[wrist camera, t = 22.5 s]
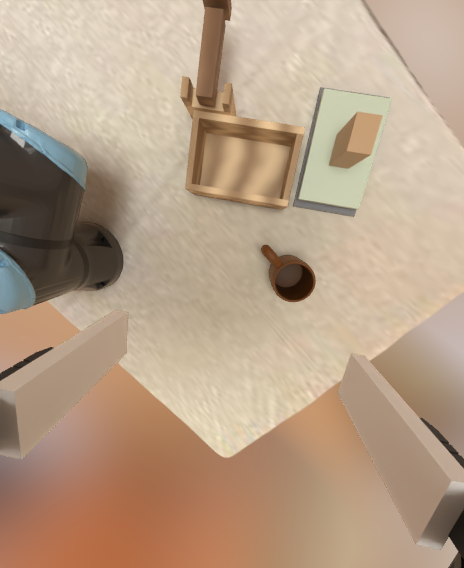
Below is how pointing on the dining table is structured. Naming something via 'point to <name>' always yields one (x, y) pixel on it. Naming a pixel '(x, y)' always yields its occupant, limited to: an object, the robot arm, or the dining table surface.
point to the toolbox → (239, 153)
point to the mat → (300, 202)
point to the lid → (343, 148)
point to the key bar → (211, 49)
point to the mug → (289, 276)
